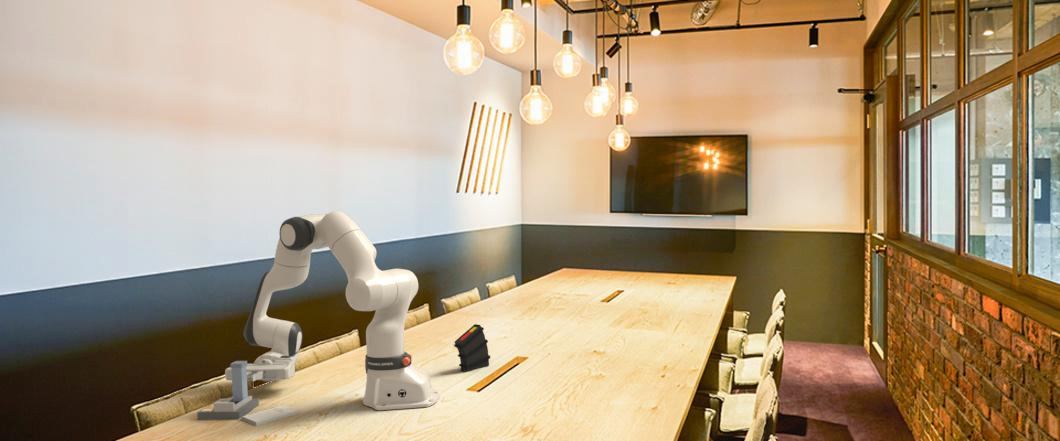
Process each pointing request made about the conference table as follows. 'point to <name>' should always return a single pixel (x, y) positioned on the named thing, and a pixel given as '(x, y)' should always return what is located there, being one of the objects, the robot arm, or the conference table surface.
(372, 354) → the robot arm
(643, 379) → the conference table surface
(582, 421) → the conference table surface
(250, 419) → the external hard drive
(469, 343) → the magazine
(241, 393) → the switch tab
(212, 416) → the grey stepped square base
